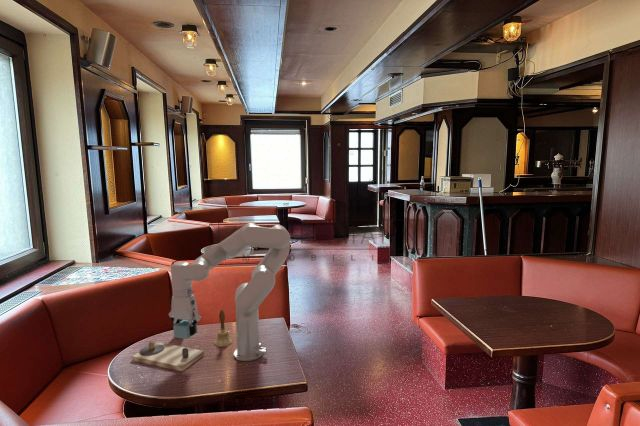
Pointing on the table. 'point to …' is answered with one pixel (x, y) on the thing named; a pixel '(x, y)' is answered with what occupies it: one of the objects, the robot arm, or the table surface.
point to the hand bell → (222, 333)
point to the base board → (168, 356)
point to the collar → (182, 329)
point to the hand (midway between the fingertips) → (185, 333)
